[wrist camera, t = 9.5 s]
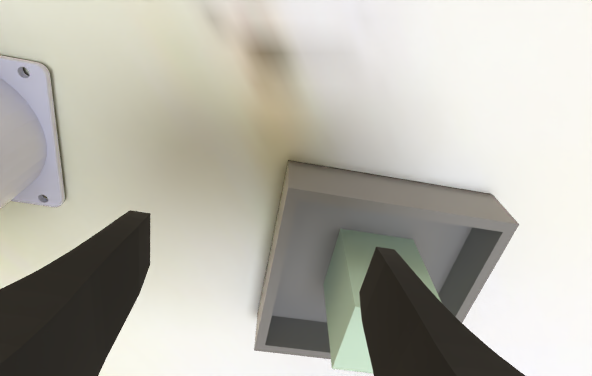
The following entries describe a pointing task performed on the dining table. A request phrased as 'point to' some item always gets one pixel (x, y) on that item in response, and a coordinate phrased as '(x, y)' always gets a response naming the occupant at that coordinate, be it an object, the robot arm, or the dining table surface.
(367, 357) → the mint block
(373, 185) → the gray tray
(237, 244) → the dining table surface
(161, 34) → the dining table surface
